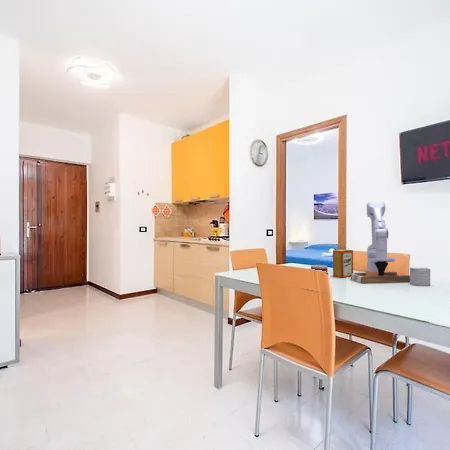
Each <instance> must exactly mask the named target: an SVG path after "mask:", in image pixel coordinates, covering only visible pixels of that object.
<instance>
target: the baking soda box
mask: <svg viewBox="0 0 450 450" xmlns="http://www.w3.org/2000/svg"><path fill="white" fill-rule="evenodd" d="M351 273H354V250H352V249H334V250H332V276H333V277H334V278H338V277H339V278H340V279H345V278H346V279H348V278H351ZM333 277H332V278H333ZM347 277H348V278H347ZM339 278H338V279H339Z"/></svg>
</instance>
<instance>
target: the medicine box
mask: <svg viewBox="0 0 450 450" xmlns="http://www.w3.org/2000/svg"><path fill="white" fill-rule="evenodd" d="M409 275H410V282H409V284H410V285H411V286H413V285H414V286H413V287H417V286H418V287H419V286H420V287H421V286H422V287H424V286H426V287H427V286H429V287H431V269H430V268H429V267H410V268H409Z"/></svg>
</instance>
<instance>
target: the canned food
mask: <svg viewBox="0 0 450 450" xmlns="http://www.w3.org/2000/svg"><path fill="white" fill-rule="evenodd" d="M311 269H315V270H322V271H326V272H327V273H328V266H327V265H323V264H312V265H310V270H311Z"/></svg>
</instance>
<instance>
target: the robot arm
mask: <svg viewBox="0 0 450 450" xmlns="http://www.w3.org/2000/svg"><path fill="white" fill-rule="evenodd" d="M385 212H386V203H385V202H384V201H383V202H382V201H381V202H380V201H379V202H376V201H375V202H366V216H367V217H368V218H369V219H370V223H371V244H369V245H368V246H367V249H366V250H367V251H366V257H367V261H366V262H367V263H366V270H374V271H378V272H379V275H381V276H384V272H386V269H387V267H388V266H389V263H395V262H396V258H395V257H394V258H393V257H388V239H389V230H388V227H386V226H387V225H386V221H385V219H383V217H384V215H385Z"/></svg>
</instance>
